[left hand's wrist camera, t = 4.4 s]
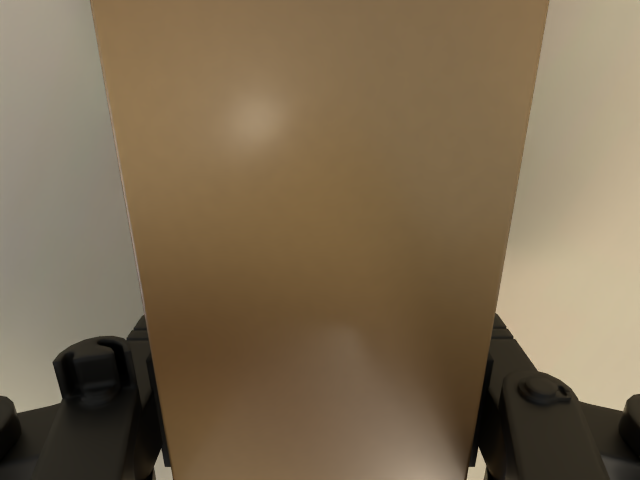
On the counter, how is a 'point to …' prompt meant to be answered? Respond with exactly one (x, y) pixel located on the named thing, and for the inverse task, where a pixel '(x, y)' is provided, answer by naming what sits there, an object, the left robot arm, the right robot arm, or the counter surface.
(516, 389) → the left robot arm
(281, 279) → the bar
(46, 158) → the counter surface
